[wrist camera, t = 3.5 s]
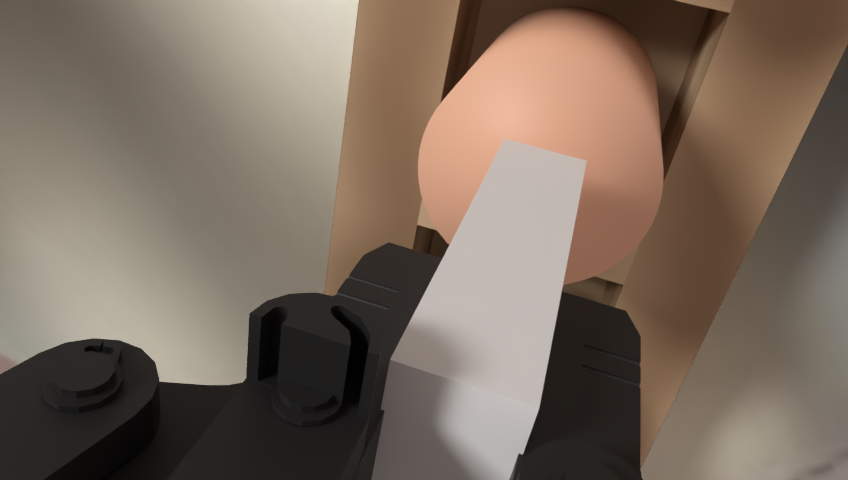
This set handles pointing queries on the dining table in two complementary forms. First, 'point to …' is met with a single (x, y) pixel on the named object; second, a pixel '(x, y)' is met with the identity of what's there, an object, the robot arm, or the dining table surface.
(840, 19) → the wooden peg tray
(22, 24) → the dining table surface
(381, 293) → the robot arm
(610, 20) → the peach cylinder
